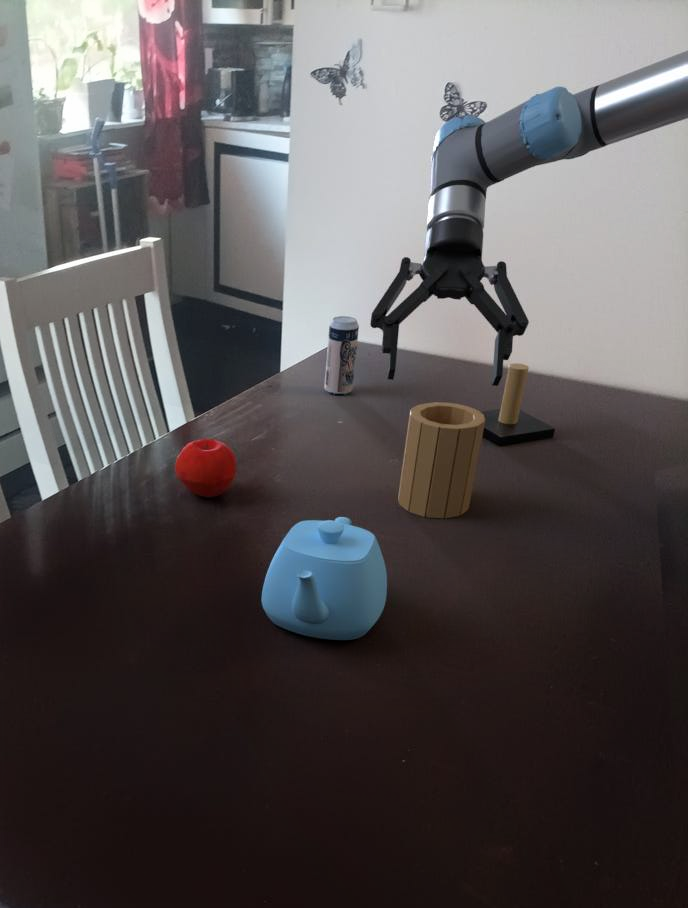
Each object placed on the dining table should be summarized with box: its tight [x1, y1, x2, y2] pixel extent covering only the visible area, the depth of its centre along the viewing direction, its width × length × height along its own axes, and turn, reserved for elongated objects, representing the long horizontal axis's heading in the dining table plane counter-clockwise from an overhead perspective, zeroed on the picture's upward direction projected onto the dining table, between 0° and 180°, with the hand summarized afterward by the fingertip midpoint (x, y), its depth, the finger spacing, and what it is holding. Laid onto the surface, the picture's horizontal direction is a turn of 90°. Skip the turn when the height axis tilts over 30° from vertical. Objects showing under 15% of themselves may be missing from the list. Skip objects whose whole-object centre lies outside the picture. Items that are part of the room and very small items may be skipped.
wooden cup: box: [397, 401, 485, 520], centre depth 115 cm, size 9×9×12 cm
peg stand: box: [480, 363, 556, 447], centre depth 137 cm, size 10×10×10 cm
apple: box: [174, 438, 237, 498], centre depth 118 cm, size 8×8×7 cm
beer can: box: [323, 315, 360, 395], centre depth 151 cm, size 5×5×12 cm
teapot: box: [260, 516, 388, 641], centre depth 92 cm, size 13×11×18 cm
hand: (443, 378), depth 118 cm, fingers open, 13 cm apart
